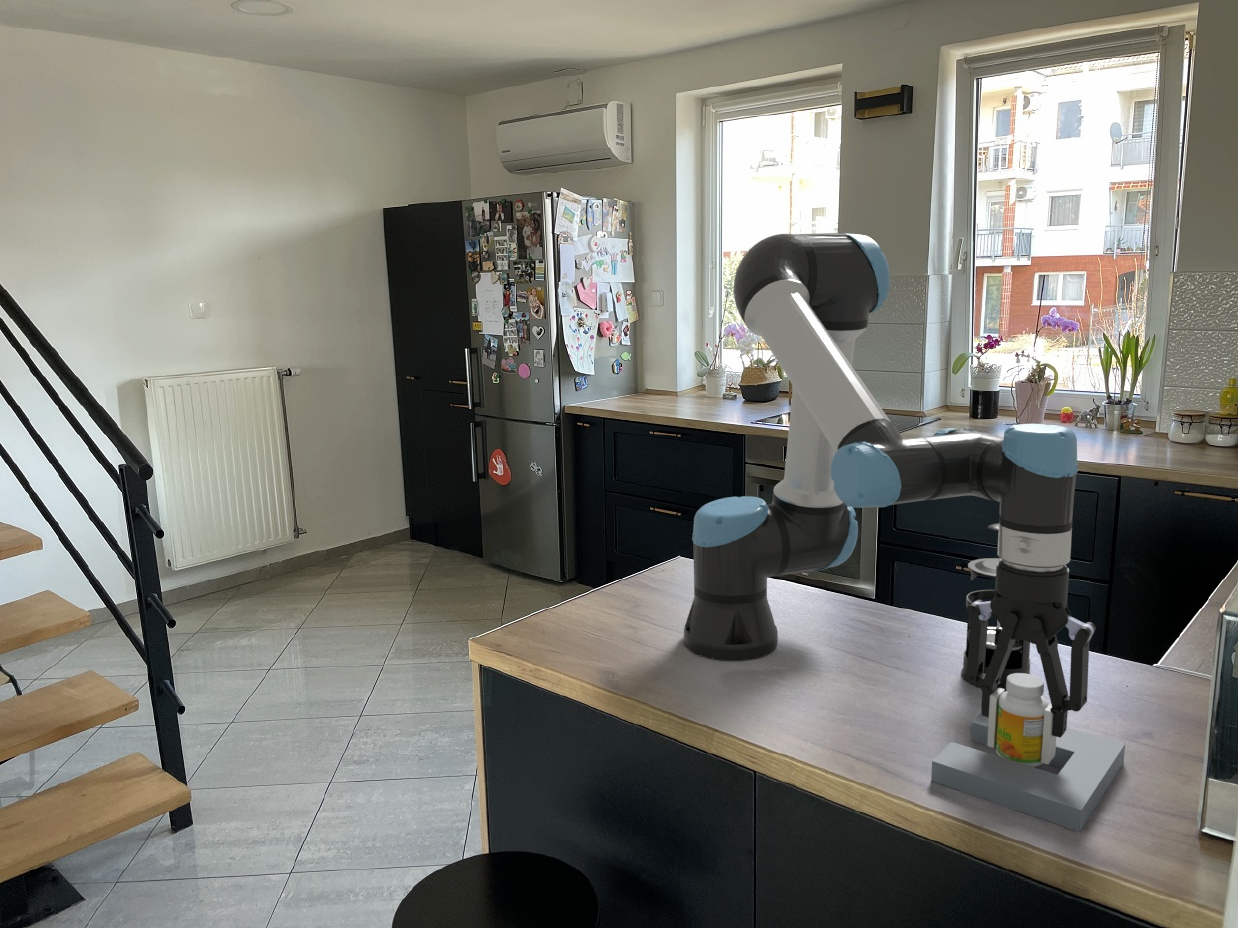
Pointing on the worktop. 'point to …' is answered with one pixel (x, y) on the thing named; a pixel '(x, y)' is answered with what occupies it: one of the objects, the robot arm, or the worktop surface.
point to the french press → (1021, 648)
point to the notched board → (1035, 775)
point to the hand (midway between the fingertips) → (1020, 750)
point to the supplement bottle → (1021, 719)
